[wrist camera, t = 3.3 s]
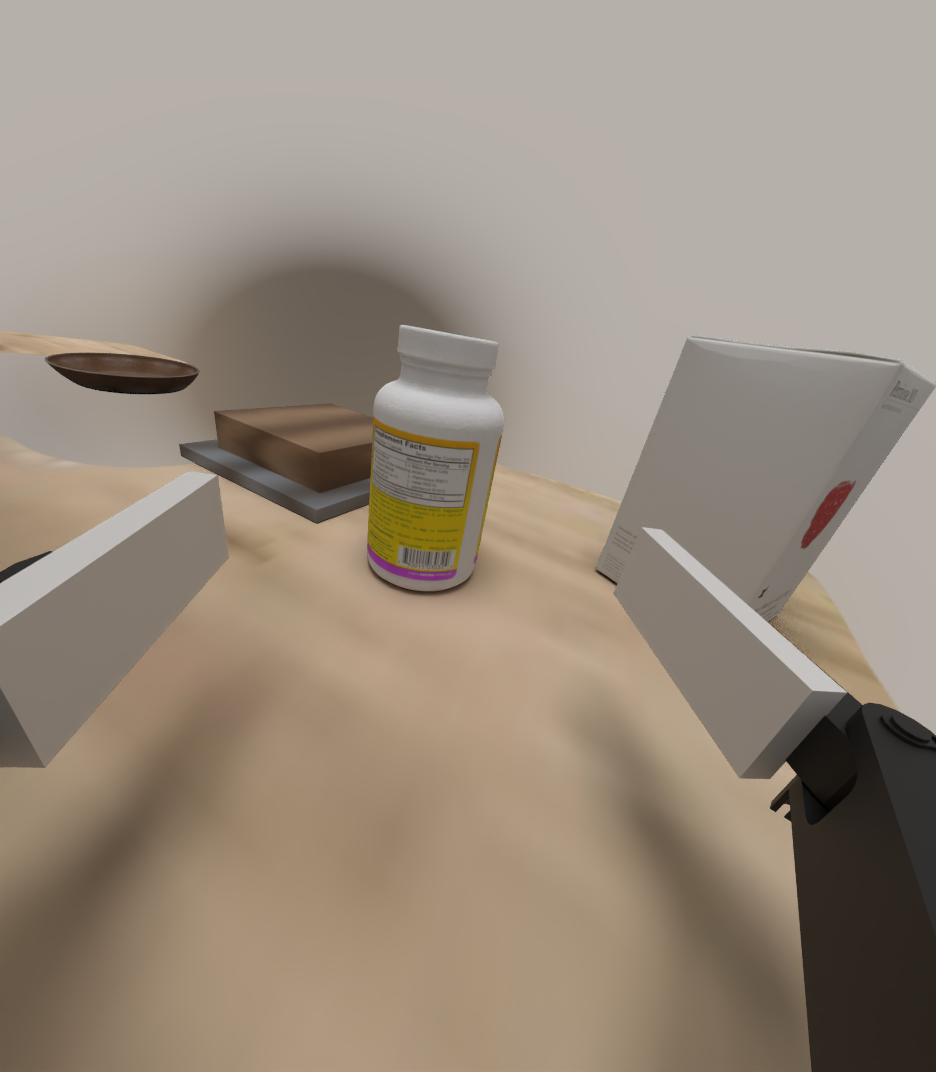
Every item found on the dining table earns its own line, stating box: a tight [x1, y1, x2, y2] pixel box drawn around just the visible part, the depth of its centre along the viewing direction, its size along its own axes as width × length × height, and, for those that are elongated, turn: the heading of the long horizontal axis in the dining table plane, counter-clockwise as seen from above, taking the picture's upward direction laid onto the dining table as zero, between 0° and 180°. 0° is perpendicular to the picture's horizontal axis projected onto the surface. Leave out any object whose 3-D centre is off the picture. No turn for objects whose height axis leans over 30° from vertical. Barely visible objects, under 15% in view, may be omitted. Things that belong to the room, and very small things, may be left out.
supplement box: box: [596, 335, 936, 622], centre depth 23 cm, size 9×9×15 cm
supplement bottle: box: [367, 325, 504, 591], centre depth 21 cm, size 7×7×13 cm
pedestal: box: [179, 404, 373, 523], centre depth 35 cm, size 16×16×4 cm
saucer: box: [45, 353, 199, 394], centre depth 50 cm, size 15×15×3 cm
